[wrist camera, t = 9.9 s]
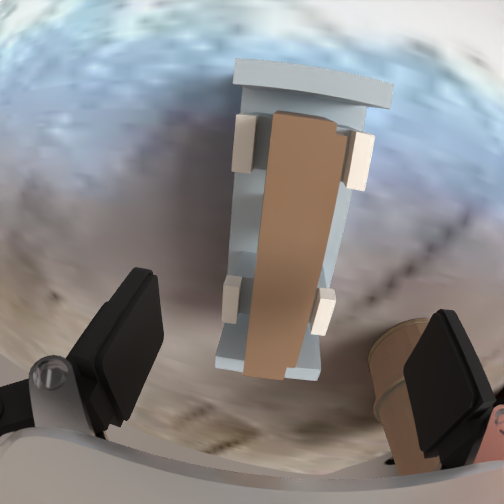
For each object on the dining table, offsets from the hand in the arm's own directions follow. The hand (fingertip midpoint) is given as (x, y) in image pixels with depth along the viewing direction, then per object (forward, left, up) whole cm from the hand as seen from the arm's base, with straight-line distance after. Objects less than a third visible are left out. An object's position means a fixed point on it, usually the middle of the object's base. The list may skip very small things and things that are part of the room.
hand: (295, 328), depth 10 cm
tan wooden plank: (+1, -1, -9) cm, 9 cm away
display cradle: (+1, 0, -14) cm, 14 cm away
